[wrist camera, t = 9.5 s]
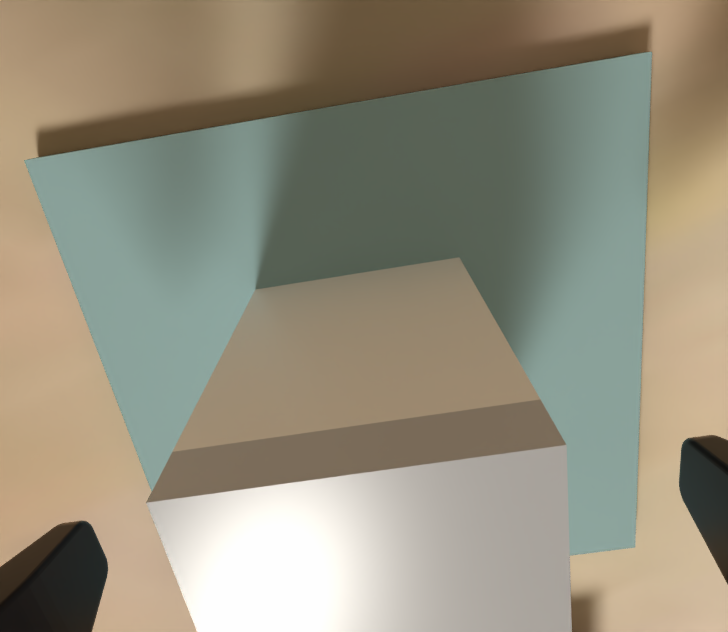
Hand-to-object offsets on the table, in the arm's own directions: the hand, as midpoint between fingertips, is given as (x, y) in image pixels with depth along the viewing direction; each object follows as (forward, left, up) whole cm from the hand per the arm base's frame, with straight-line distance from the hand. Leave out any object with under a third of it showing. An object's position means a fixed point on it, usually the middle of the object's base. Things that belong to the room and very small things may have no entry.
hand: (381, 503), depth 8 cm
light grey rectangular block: (0, 0, -4) cm, 4 cm away
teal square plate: (0, 0, -4) cm, 4 cm away
